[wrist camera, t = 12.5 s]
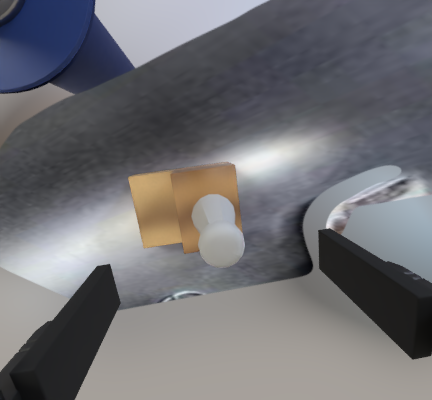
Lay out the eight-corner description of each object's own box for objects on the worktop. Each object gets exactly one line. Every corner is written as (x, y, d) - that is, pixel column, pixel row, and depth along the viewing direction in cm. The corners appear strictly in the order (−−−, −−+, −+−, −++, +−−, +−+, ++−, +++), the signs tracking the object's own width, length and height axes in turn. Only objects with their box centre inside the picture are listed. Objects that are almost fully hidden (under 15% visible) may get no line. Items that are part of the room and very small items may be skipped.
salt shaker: (202, 236, 33) (206, 289, 20) (184, 202, 32) (177, 237, 19) (238, 218, 33) (265, 262, 20) (222, 184, 32) (239, 207, 19)
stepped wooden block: (133, 174, 38) (118, 181, 30) (227, 161, 39) (234, 164, 31) (148, 240, 41) (136, 261, 33) (234, 226, 42) (243, 244, 34)
